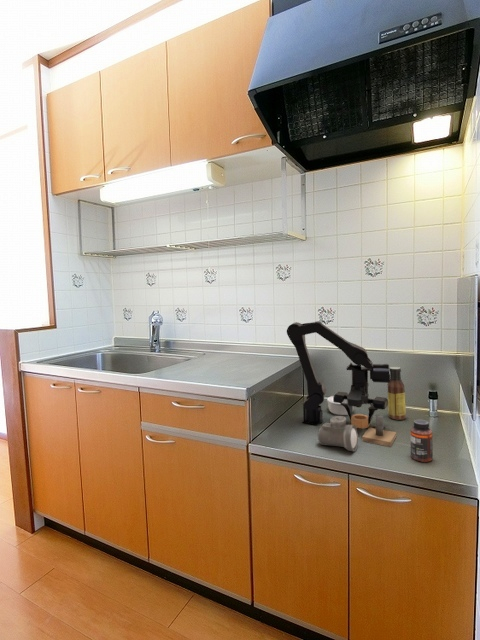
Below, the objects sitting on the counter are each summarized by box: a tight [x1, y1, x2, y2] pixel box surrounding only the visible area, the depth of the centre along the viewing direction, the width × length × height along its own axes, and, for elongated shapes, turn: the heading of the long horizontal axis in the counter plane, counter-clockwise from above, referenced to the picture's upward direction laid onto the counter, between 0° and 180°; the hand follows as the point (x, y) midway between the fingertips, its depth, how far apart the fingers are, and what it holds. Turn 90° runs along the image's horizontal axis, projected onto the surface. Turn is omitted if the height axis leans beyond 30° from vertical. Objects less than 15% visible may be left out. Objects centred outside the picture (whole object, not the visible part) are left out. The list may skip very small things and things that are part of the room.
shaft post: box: [361, 414, 397, 448], centre depth 123 cm, size 9×9×8 cm
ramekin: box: [326, 395, 355, 416], centre depth 151 cm, size 11×11×5 cm
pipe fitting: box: [317, 415, 359, 452], centre depth 118 cm, size 12×8×10 cm
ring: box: [350, 413, 371, 429], centre depth 136 cm, size 6×6×3 cm
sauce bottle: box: [386, 366, 407, 421], centre depth 141 cm, size 7×6×20 cm
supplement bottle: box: [410, 418, 434, 463], centre depth 108 cm, size 6×6×11 cm
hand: (360, 422), depth 136 cm, fingers closed on ring, 6 cm apart
